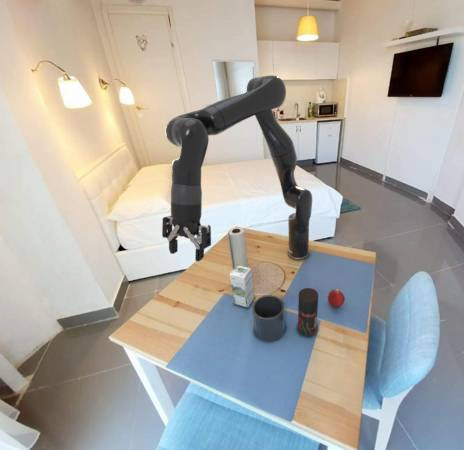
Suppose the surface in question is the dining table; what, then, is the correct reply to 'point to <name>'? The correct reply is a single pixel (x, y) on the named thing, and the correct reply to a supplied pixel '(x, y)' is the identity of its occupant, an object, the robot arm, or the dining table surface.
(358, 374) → the dining table surface
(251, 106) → the robot arm
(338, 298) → the onion
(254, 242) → the dining table surface
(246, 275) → the syrup box
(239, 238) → the paper towel roll
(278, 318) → the dark grey cup
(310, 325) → the deodorant
